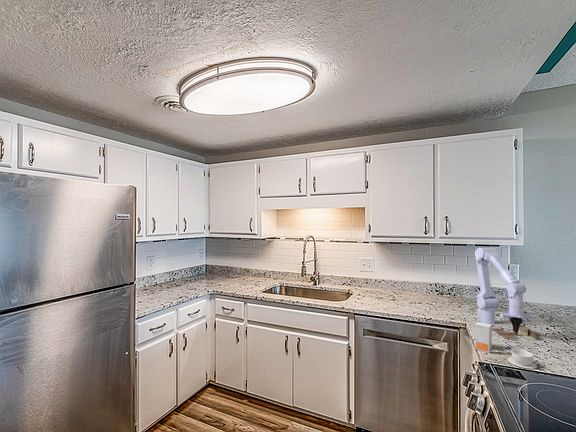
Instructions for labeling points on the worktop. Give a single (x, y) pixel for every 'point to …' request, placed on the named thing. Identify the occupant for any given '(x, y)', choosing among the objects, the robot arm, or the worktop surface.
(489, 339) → the skincare box
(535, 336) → the box
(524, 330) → the birch block
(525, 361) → the teacup
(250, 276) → the worktop surface
